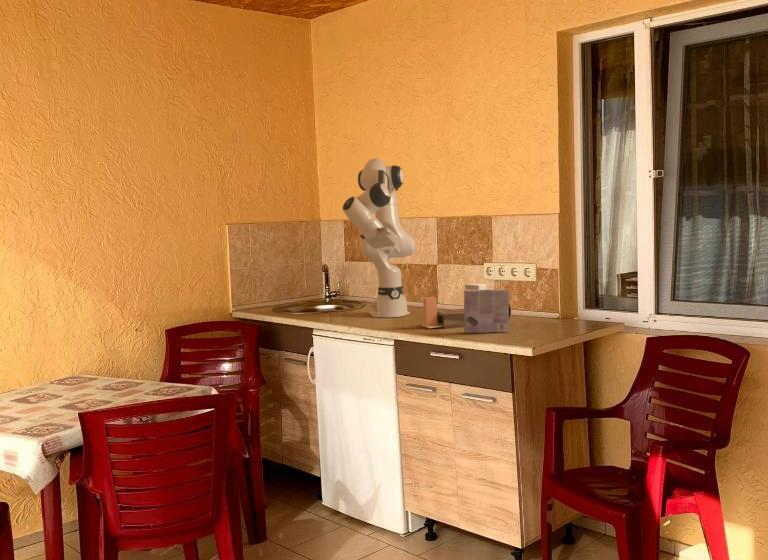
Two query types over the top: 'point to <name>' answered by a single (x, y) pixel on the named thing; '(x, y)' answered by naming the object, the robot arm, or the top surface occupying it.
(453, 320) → the walnut dispenser
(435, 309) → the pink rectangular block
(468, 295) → the cake pan box
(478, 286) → the skincare box
